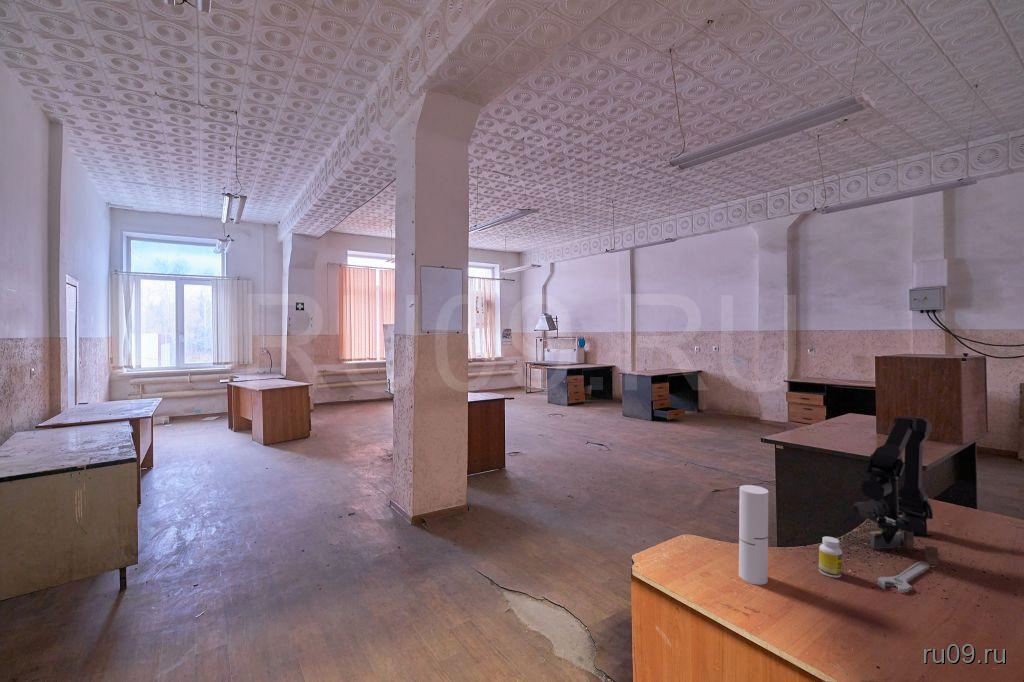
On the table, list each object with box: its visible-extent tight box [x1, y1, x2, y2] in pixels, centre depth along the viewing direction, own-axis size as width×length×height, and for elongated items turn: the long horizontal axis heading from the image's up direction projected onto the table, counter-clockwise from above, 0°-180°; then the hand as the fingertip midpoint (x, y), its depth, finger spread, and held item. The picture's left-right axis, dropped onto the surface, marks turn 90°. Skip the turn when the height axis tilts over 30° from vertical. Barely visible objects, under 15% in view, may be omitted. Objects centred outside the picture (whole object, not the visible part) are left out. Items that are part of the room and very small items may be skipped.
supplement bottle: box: [818, 536, 843, 579], centre depth 131 cm, size 5×5×10 cm
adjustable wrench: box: [877, 560, 931, 593], centre depth 128 cm, size 25×6×2 cm, turn 116°
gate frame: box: [902, 531, 939, 567], centre depth 141 cm, size 14×3×6 cm, turn 166°
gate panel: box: [869, 529, 904, 549], centre depth 146 cm, size 11×2×5 cm, turn 98°
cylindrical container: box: [738, 484, 769, 586], centre depth 128 cm, size 7×7×25 cm
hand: (887, 543), depth 143 cm, fingers closed
